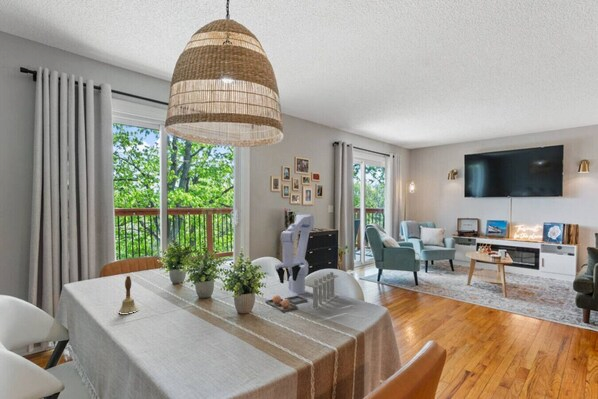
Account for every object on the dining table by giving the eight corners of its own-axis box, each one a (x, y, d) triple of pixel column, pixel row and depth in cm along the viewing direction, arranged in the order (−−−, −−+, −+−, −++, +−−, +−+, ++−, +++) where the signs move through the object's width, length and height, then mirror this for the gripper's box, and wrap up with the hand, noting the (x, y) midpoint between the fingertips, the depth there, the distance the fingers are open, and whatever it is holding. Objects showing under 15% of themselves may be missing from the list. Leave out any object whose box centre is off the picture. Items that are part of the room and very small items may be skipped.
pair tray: (265, 303, 151) (265, 300, 151) (279, 300, 156) (279, 297, 156) (283, 313, 138) (283, 310, 138) (297, 309, 143) (297, 306, 143)
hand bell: (113, 313, 139) (113, 277, 139) (130, 307, 146) (130, 273, 147) (125, 316, 135) (125, 279, 135) (142, 310, 143) (142, 275, 143)
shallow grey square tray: (284, 301, 156) (284, 298, 156) (297, 298, 160) (297, 295, 160) (293, 305, 149) (293, 302, 149) (307, 302, 154) (307, 299, 154)
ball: (279, 307, 145) (279, 299, 145) (286, 305, 147) (286, 297, 147) (284, 310, 141) (284, 301, 141) (291, 308, 144) (291, 299, 144)
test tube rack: (316, 311, 142) (316, 282, 142) (308, 309, 144) (308, 280, 144) (338, 296, 163) (338, 271, 163) (330, 295, 166) (330, 270, 166)
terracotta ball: (271, 303, 151) (270, 295, 151) (278, 301, 153) (277, 293, 153) (275, 305, 148) (275, 297, 147) (282, 303, 150) (282, 295, 150)
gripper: (280, 257, 149) (280, 285, 149) (304, 254, 158) (304, 281, 158) (272, 255, 155) (272, 282, 155) (296, 252, 164) (296, 278, 163)
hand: (288, 281), depth 157 cm, fingers open, 7 cm apart
